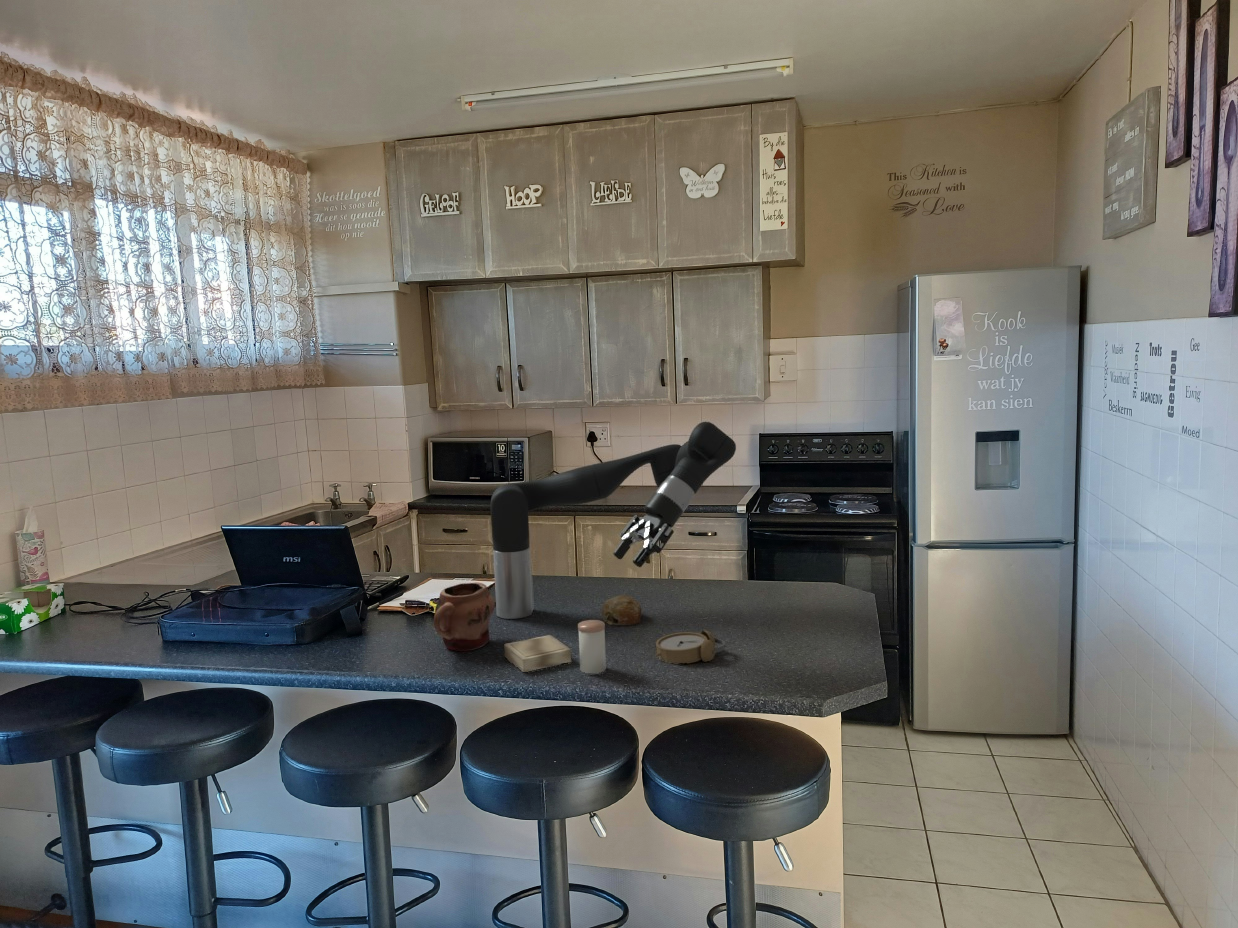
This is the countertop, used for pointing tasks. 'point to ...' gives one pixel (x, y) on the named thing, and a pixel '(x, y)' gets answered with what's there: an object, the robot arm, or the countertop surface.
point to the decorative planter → (464, 616)
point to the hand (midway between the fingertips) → (626, 560)
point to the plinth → (537, 653)
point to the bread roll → (621, 611)
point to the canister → (592, 646)
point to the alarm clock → (688, 647)
